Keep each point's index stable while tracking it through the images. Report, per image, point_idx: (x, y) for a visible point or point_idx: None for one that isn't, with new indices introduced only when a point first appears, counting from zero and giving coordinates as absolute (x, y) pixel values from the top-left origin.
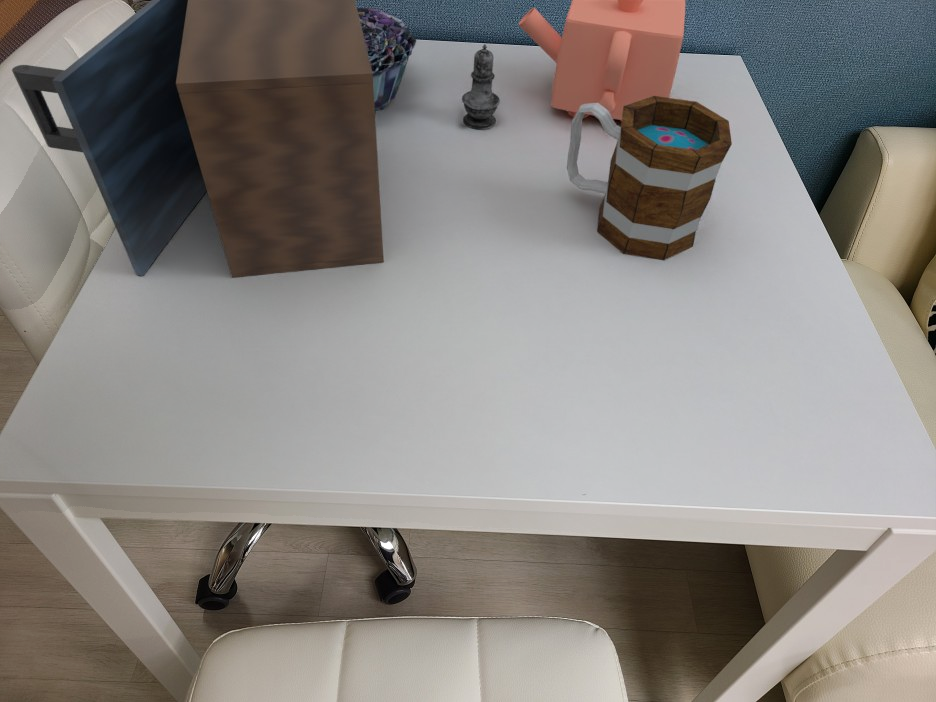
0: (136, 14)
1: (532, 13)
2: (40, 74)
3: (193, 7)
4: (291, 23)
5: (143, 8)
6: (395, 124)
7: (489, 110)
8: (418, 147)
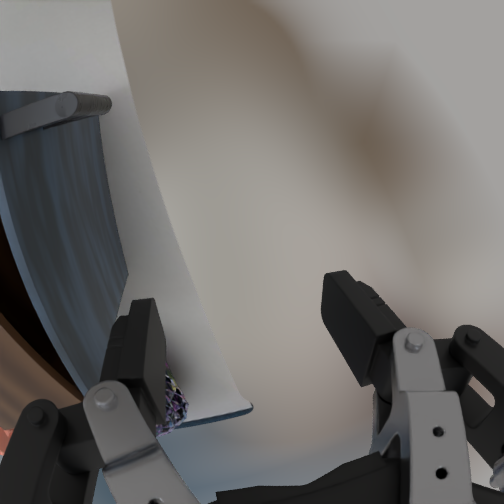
0: (40, 307)
1: (8, 436)
2: (31, 106)
3: (10, 342)
4: None
5: (49, 325)
6: None
7: None
8: None
